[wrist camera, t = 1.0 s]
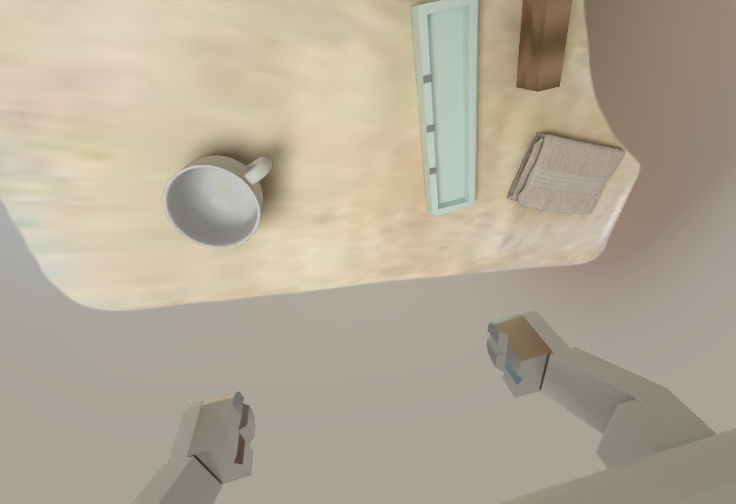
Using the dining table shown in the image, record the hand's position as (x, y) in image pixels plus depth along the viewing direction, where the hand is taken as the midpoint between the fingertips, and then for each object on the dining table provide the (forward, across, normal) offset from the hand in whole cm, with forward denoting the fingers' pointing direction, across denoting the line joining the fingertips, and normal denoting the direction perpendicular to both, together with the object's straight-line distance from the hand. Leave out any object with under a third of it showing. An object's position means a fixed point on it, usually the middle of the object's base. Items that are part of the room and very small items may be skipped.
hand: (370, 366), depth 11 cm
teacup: (+40, +12, +6) cm, 42 cm away
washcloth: (+40, -39, +17) cm, 58 cm away
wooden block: (+40, -31, -4) cm, 50 cm away
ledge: (+39, -19, +4) cm, 44 cm away
